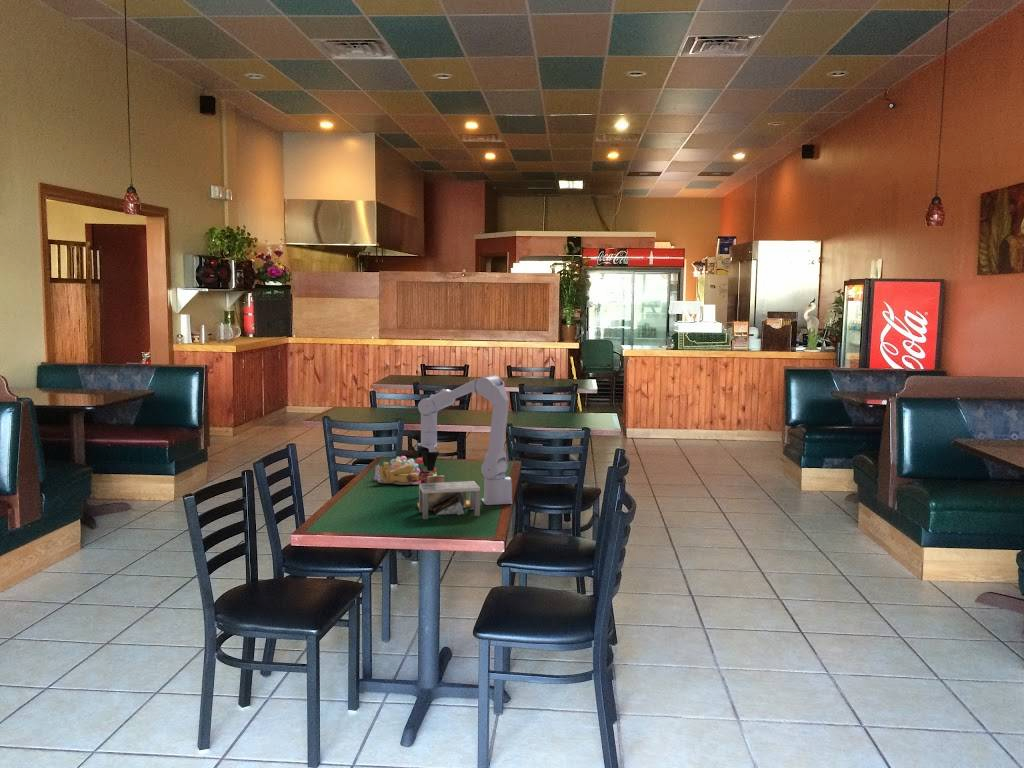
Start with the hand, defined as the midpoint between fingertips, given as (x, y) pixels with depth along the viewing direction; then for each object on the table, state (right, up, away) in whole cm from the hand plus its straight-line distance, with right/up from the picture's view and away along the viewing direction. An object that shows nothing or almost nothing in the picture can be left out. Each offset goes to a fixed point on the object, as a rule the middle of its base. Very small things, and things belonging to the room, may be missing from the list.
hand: (428, 468), depth 293 cm
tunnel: (+9, -12, -25) cm, 30 cm away
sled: (+5, -10, -9) cm, 14 cm away
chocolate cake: (+9, -13, -24) cm, 29 cm away
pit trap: (+7, -11, -16) cm, 21 cm away
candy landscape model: (-12, -7, +27) cm, 30 cm away
